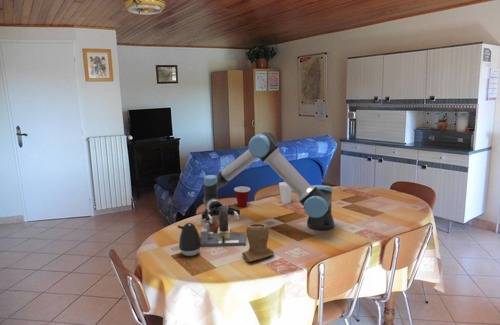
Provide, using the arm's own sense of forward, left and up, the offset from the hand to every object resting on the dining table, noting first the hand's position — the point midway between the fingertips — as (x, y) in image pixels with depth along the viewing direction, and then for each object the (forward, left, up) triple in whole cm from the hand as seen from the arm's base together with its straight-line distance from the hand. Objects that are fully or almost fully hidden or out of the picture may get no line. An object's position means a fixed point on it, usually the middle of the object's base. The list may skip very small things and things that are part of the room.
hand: (225, 219), depth 186 cm
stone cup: (-21, +7, -13) cm, 26 cm away
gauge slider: (+1, -1, -11) cm, 11 cm away
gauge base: (+1, -3, -13) cm, 13 cm away
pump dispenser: (+8, +18, -13) cm, 24 cm away
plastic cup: (+22, -59, -13) cm, 64 cm away
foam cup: (-1, -79, -13) cm, 80 cm away
